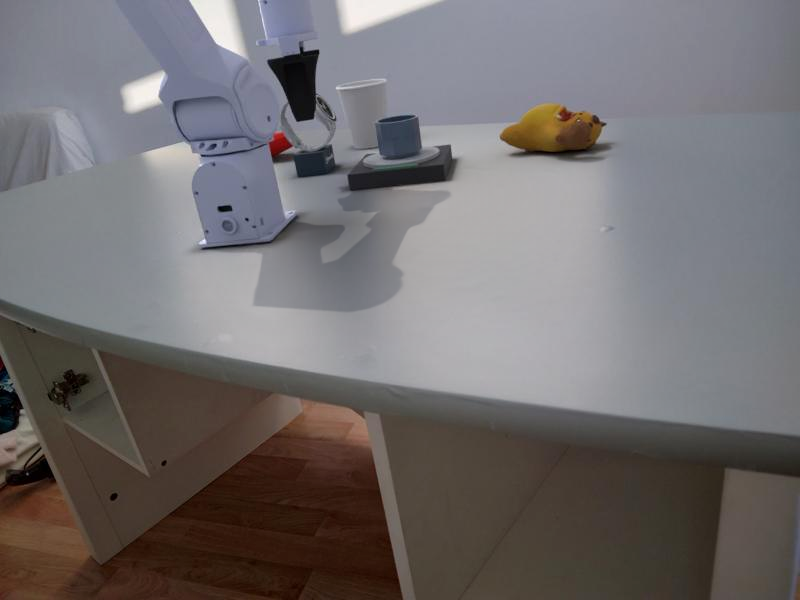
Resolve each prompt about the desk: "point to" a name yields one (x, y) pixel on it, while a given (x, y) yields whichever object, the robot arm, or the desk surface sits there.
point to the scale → (401, 169)
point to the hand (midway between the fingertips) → (306, 116)
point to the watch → (312, 157)
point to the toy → (553, 129)
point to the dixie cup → (363, 109)
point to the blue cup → (398, 136)
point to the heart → (279, 144)
